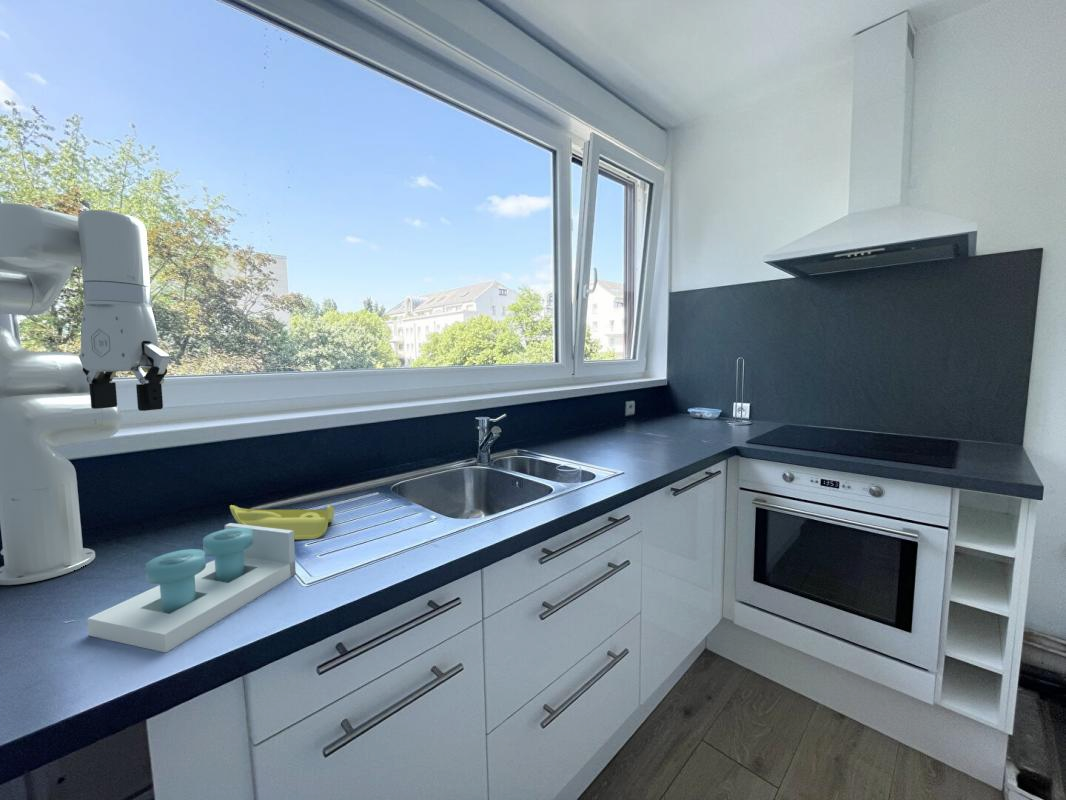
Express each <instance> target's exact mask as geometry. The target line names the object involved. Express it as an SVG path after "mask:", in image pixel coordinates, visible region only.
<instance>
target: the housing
mask: <svg viewBox="0 0 1066 800" xmlns="http://www.w3.org/2000/svg"><path fill="white" fill-rule="evenodd" d="M240 527H243V528H250V529H252V533H253V544H252V545H251V546H250V547H248V548H246V549H244V568H245V574H244V575H242V576H240V577H239V578H237V579H235V580H233V581H231V582H229V583H226V582H220V581H216V573H215V559H214V560H212V561H210V562H207V563H206V567H205V569H204V570H203V571H201V572H200V573H198V574H196V575H195V589H196V600H195V601H193V602H191V603H189V604H188V605H186V606H184V607H182V608H180V609H178V610H176V611H174V612H172V613H171V614H167V613H162V609H161V595H160V584H158V585H157V586H155V587H152V588H151V589H148V590H146V591H144V592H142V593H140V594H137V595H135V596H133V597H131V598H128V599H126V600H124V601H122V602H120V603H118V604H116V605H114V606H111V607H108V608H107V609H105V610H102V611H100V612H98V613H95V614H93V615H92V616H90V617H88V618H86V620H87V630H88V631H87V632H88V636H90V637H94V638H98V639H102V640H107V641H112V642H116V643H121V644H124V645H125V644H126V645H131V646H134V647H139V648H143V649H149V650H153V651H156V652H160V653H165V654H166V653H168V652H170V651H172V650H173V649H175V648H176V647H178V646H180V645H181V644H182V643H185V642H187V641H188V640H189V639H192V638H193V637H195V636H196V635H198V634H199V633H201V632H202V631H204V630H206V629H208V628H209V627H211V626H213V625H214V624H216V623H218V622H219V621H221V620H222V619H224V618H226V617H227V616H229V615H231V614H232V613H234V612H236V611H237V610H239V609H241V608H242V607H244V606H246V605H247V604H248V603H250V602H252V601H254V600H255V599H257V598H259V597H260V596H262V595H263V594H265V593H267V592H269V591H270V590H273V588H276V587H278V585H280V584H282V583H283V582H286V581H287V580H288V579H290V578H292V577H293V576H295V575H296V571H297V570H296V550H295V540H294V531H293V530H284V529H276V528H268V527H259V526H251V525H243V524H239V523H233V522H229V523H226V524H224V529H230V528H240Z"/></svg>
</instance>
